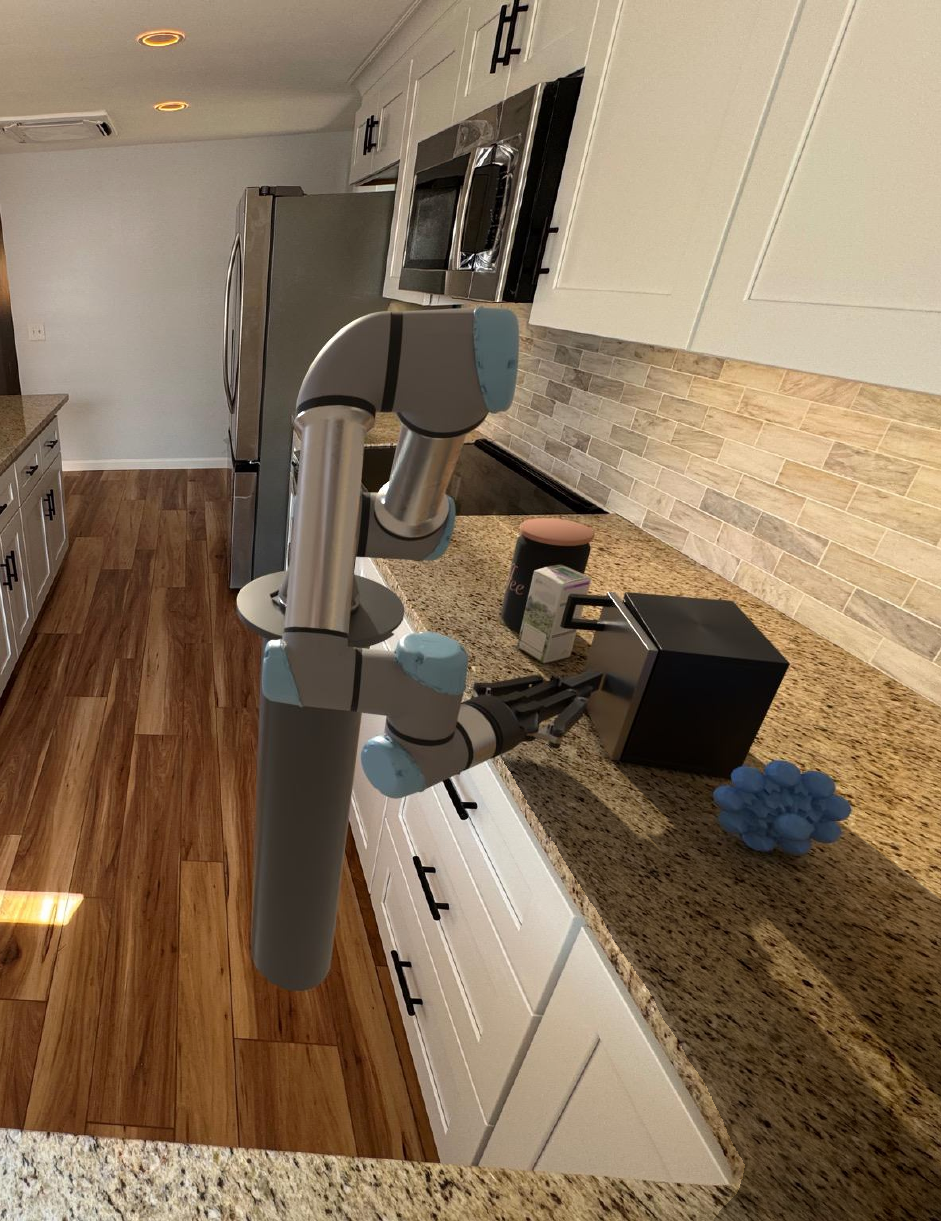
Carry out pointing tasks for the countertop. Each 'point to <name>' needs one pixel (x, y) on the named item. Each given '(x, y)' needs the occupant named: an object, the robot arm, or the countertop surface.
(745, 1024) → the countertop surface
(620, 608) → the door
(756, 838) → the blue flower
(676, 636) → the black box
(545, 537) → the coffee jar
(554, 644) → the syrup box
